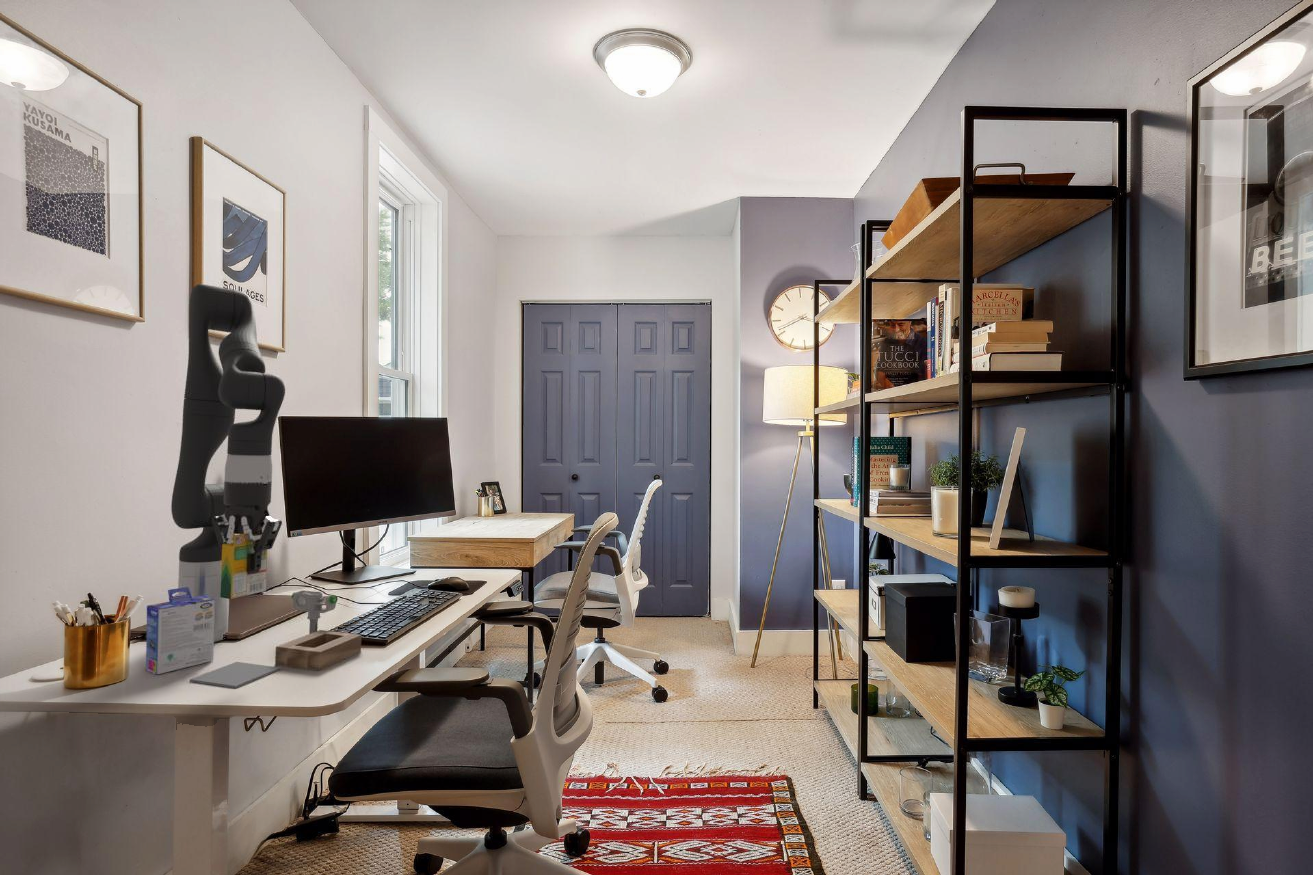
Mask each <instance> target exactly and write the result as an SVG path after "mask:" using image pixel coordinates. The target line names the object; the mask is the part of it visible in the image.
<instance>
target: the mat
mask: <svg viewBox="0 0 1313 875" xmlns="http://www.w3.org/2000/svg"><path fill="white" fill-rule="evenodd" d="M280 670H281V667H278V666H271V665H265V664H257V663H248V662H241V661H236V662H232V663H229V664H227V665H223V666H221V667H219V668H216V669H214V670H211V671H209V672H206V673H202V674H200V675H197V676H195V677H192V678H189V682H190V683H198V684H203V685H204V684H205V685H211V686H217V687H218V686H219V687H223V688H224V687H225V688H233V689H238V688H241V687H242V686H243V687H244V686H245V685H247V684H249V683H252V682H255V681H257V680H260V679H261V678H264V677H266V676H269V675H271V674H274V673H276V672H277V671H280Z"/></svg>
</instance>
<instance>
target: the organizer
mask: <svg viewBox="0 0 1313 875" xmlns="http://www.w3.org/2000/svg"><path fill="white" fill-rule="evenodd" d="M361 650H362V634H358V633H349V632H341V631H340V632H339V631H332V630H331V631H330V630H323V629H320V630H317V631H316V632H313V633H311V634H305V635H303V636H300V637H298V638H296V639H293V640H290V641H287V642H284V643H281V644H280V645H279V644H278V645H276V646H275V659H274V665H275V666H284V667H288V668H289V667H290V668H299V669H305V670H312V669H313V670H314V671H322V670H324V669H325V668H328V667H331V666H332V665H334V664H337V663H339V662H341V661H344V660H346V659H348V658H350V657H353V656H354V655H356V654H359V653H360V652H361ZM321 669H322V670H321Z"/></svg>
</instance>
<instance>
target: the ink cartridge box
mask: <svg viewBox="0 0 1313 875" xmlns="http://www.w3.org/2000/svg"><path fill="white" fill-rule="evenodd" d="M178 592H186V593H187V595H182V596H176V597H174V594H178ZM167 594H168V595H167V596H168V600H169V601H166V602H160V603H155V604H154V603H153V604H149V605H147V606H146V642H145V643H146V646H145V647H146V649H145V650H146V652H145V657H146V658H145V670H146V671H148V672H149V673H152V674H154V675H161V674H165V673H169V672H172V671H176V670H181V669H184V668H188V667H193V666H197V665H201V664H202V665H203V664H206V663H209V662H213V661H214V647H215V646H214V643H215V642H214V614H215V599H212V598H209V597H206V596H198V597H192V596H191V593H190V590H189V587H185V588H178V587H177V588H173V589H167Z"/></svg>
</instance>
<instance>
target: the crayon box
mask: <svg viewBox="0 0 1313 875" xmlns="http://www.w3.org/2000/svg"><path fill="white" fill-rule="evenodd" d="M252 535H253V536H256V535H258V534H252ZM255 546H256V540H255ZM248 554H250V553H249V551H248V543H247V541H245V539H244V534H239V535H234V543H228V544H222V566H221V591H220V597H221V598H227V599H229V600H234V599H236V598H241V597H245V596H249V595H253V594H258V593H263V592H266V591H267V570H268V568H267V567H268V565H267V564H268V562H267V561H268V549H267V550H264V551H263V552H262V557H261V568H260V570H259V572H258V573H253V574H248V573H247V555H248Z"/></svg>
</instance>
